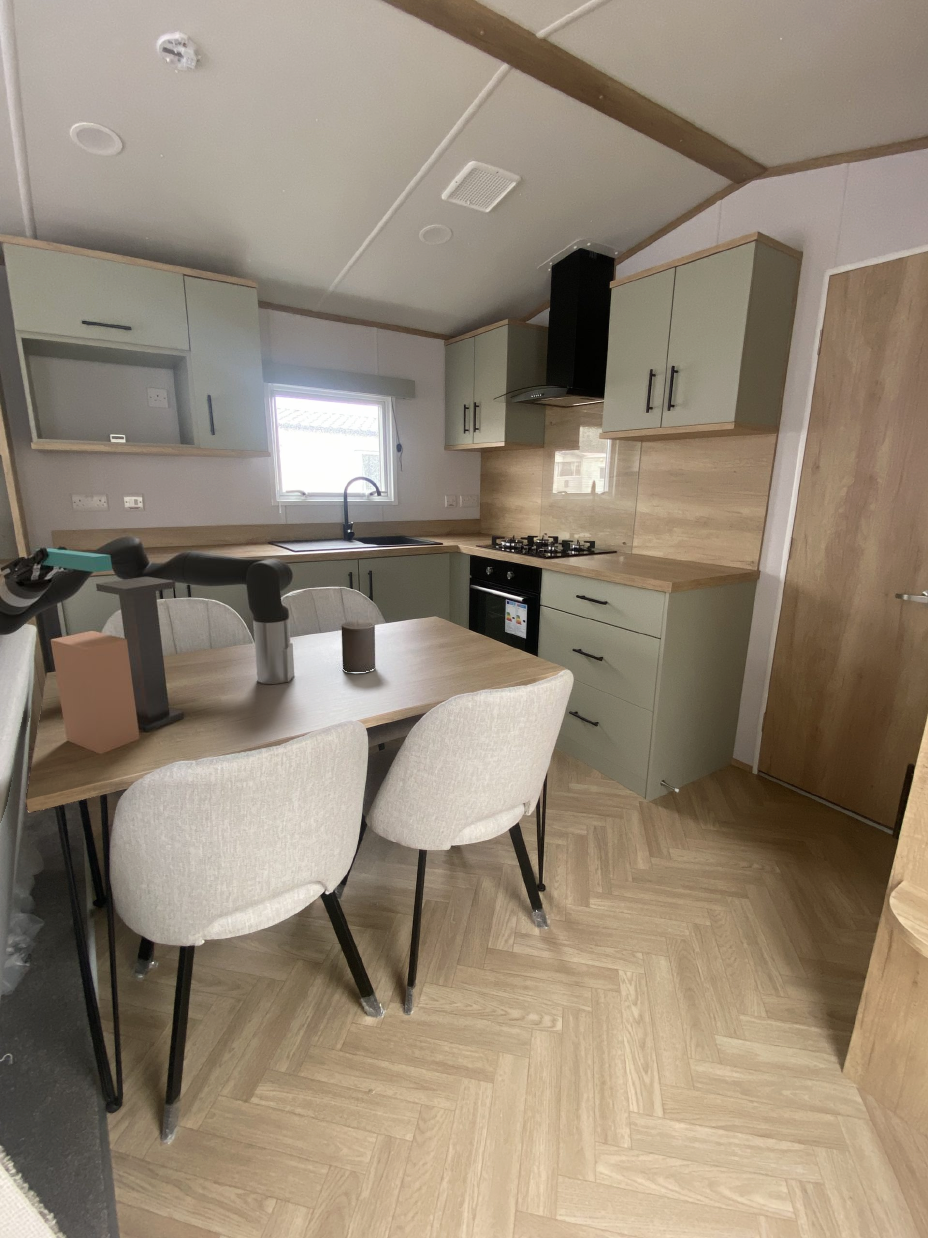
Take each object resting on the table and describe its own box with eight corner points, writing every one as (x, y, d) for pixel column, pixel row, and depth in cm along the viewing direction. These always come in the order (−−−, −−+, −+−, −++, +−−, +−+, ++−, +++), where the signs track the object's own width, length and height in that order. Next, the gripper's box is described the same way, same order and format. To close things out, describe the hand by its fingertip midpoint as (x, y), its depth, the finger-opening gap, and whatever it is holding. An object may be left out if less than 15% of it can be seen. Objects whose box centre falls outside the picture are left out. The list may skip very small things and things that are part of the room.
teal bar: (37, 563, 118) (34, 549, 117) (52, 562, 120) (50, 548, 120) (96, 572, 108) (94, 556, 107) (112, 570, 110) (110, 555, 110)
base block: (67, 740, 116) (50, 639, 111) (106, 726, 123) (92, 630, 118) (100, 754, 111) (84, 649, 105) (139, 738, 118) (126, 639, 112)
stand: (115, 724, 124) (95, 583, 116) (161, 708, 133) (146, 576, 126) (143, 734, 119) (124, 588, 112) (189, 716, 129) (174, 581, 121)
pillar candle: (335, 671, 161) (334, 621, 158) (354, 662, 170) (353, 614, 166) (364, 676, 158) (363, 625, 154) (382, 666, 167) (381, 618, 163)
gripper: (65, 594, 131) (97, 562, 122) (-6, 605, 119) (23, 570, 110) (52, 566, 131) (83, 532, 122) (-20, 573, 119) (8, 536, 110)
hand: (54, 550), depth 116 cm, fingers closed on teal bar, 3 cm apart
